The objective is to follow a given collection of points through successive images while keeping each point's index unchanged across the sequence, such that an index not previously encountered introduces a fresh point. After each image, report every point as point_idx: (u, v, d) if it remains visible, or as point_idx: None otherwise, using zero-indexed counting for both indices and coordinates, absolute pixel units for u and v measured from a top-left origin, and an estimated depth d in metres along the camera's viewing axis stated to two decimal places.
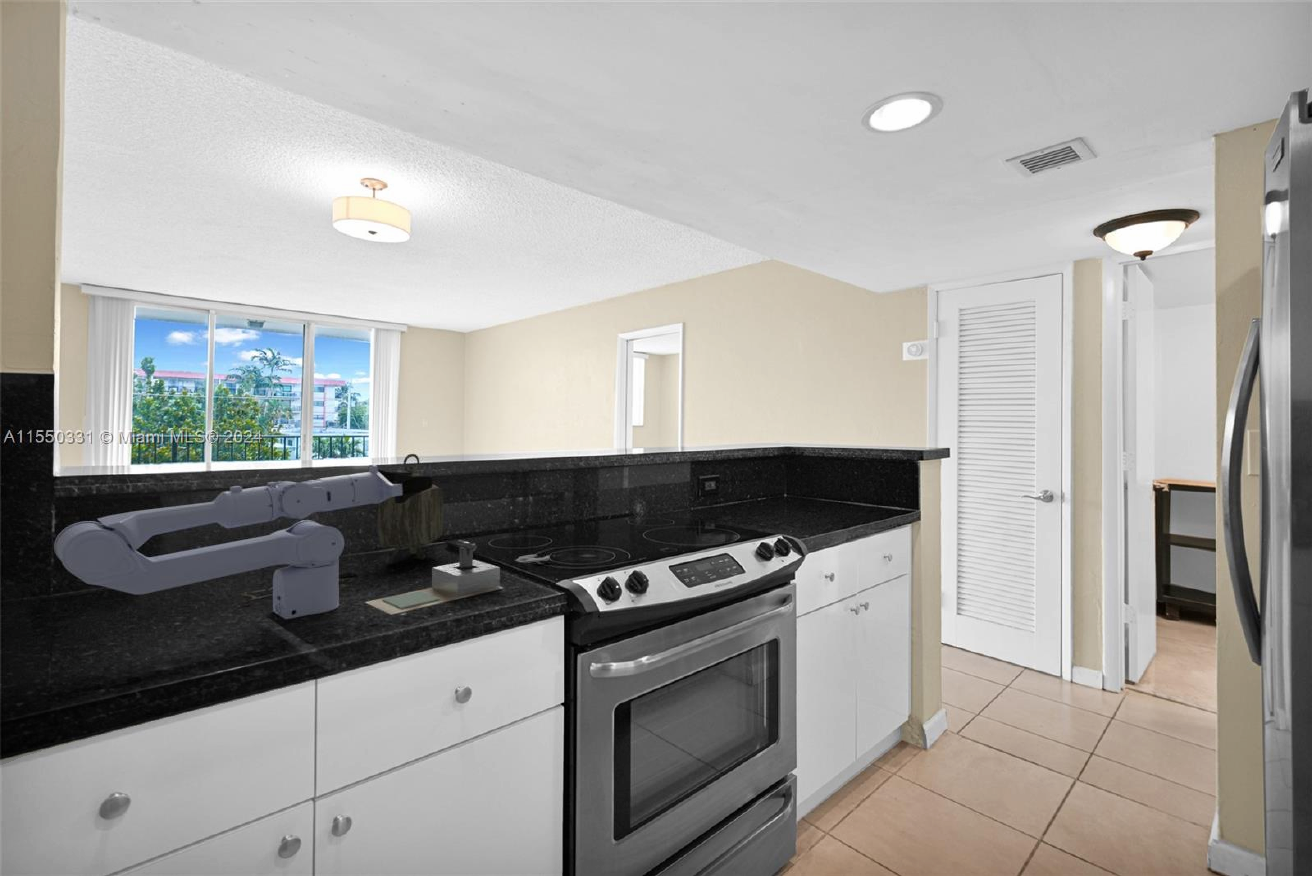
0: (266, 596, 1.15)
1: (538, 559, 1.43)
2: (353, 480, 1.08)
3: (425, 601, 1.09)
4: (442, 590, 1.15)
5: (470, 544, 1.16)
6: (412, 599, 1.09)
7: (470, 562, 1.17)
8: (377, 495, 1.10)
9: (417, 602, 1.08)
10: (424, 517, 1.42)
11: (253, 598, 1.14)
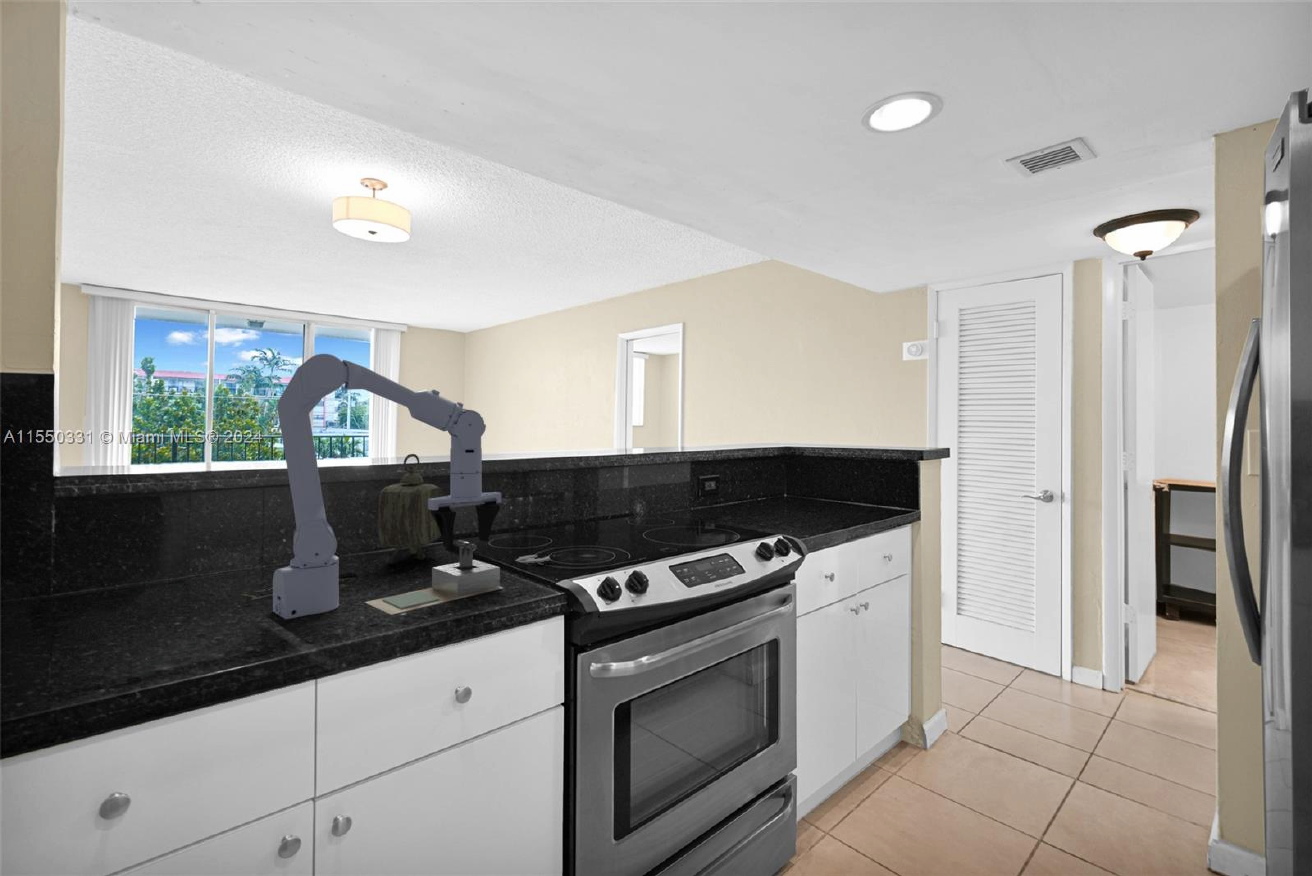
0: (266, 596, 1.15)
1: (537, 560, 1.42)
2: (462, 475, 1.15)
3: (425, 601, 1.09)
4: (442, 590, 1.15)
5: (470, 544, 1.16)
6: (412, 599, 1.09)
7: (470, 562, 1.17)
8: (450, 494, 1.17)
9: (417, 602, 1.08)
10: (424, 517, 1.42)
11: (253, 598, 1.14)
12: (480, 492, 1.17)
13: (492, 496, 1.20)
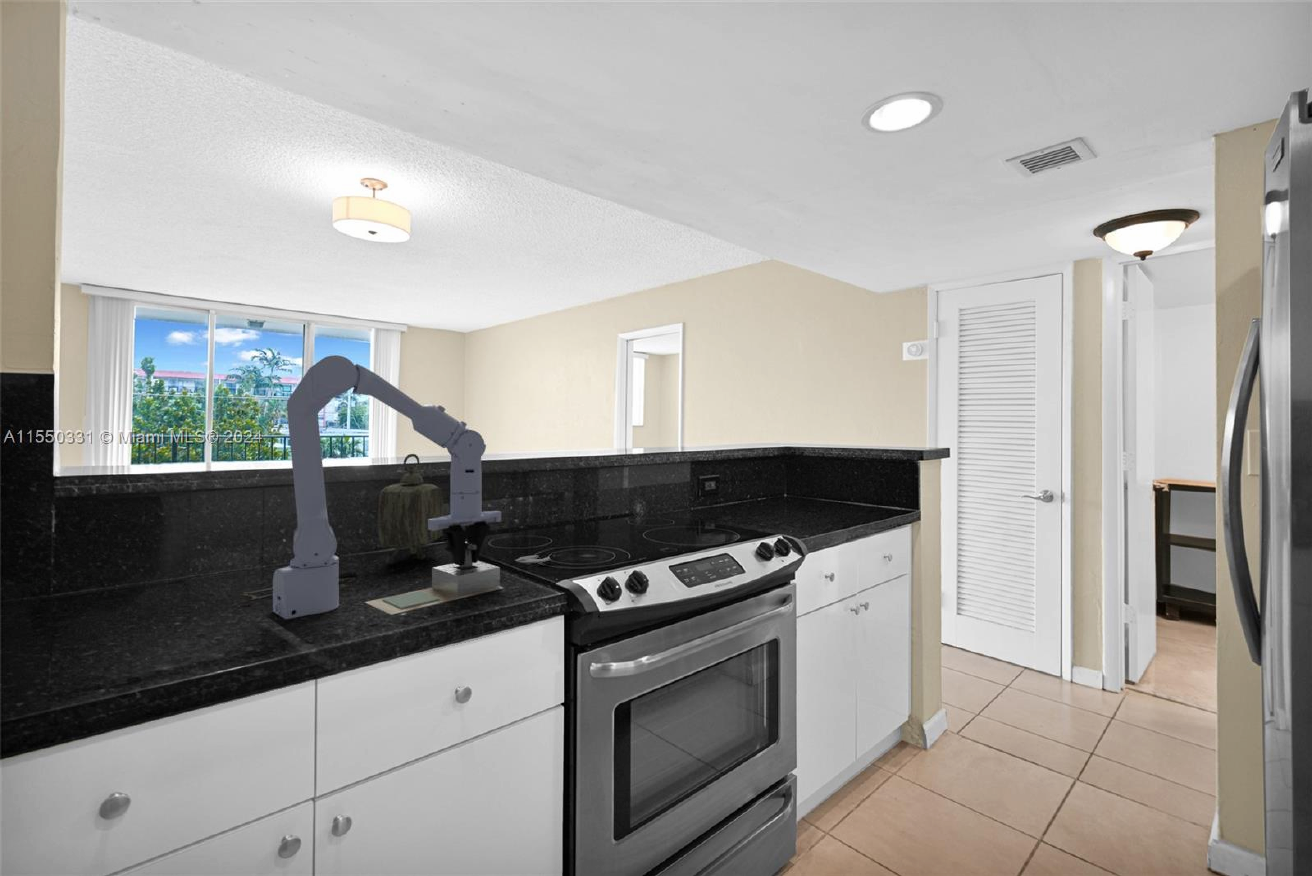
0: (266, 596, 1.15)
1: (536, 560, 1.42)
2: (462, 495, 1.15)
3: (425, 601, 1.09)
4: (442, 590, 1.15)
5: (470, 544, 1.16)
6: (412, 599, 1.09)
7: (470, 562, 1.17)
8: (450, 513, 1.17)
9: (417, 602, 1.08)
10: (424, 517, 1.42)
11: (253, 598, 1.14)
12: (480, 512, 1.18)
13: (492, 515, 1.21)
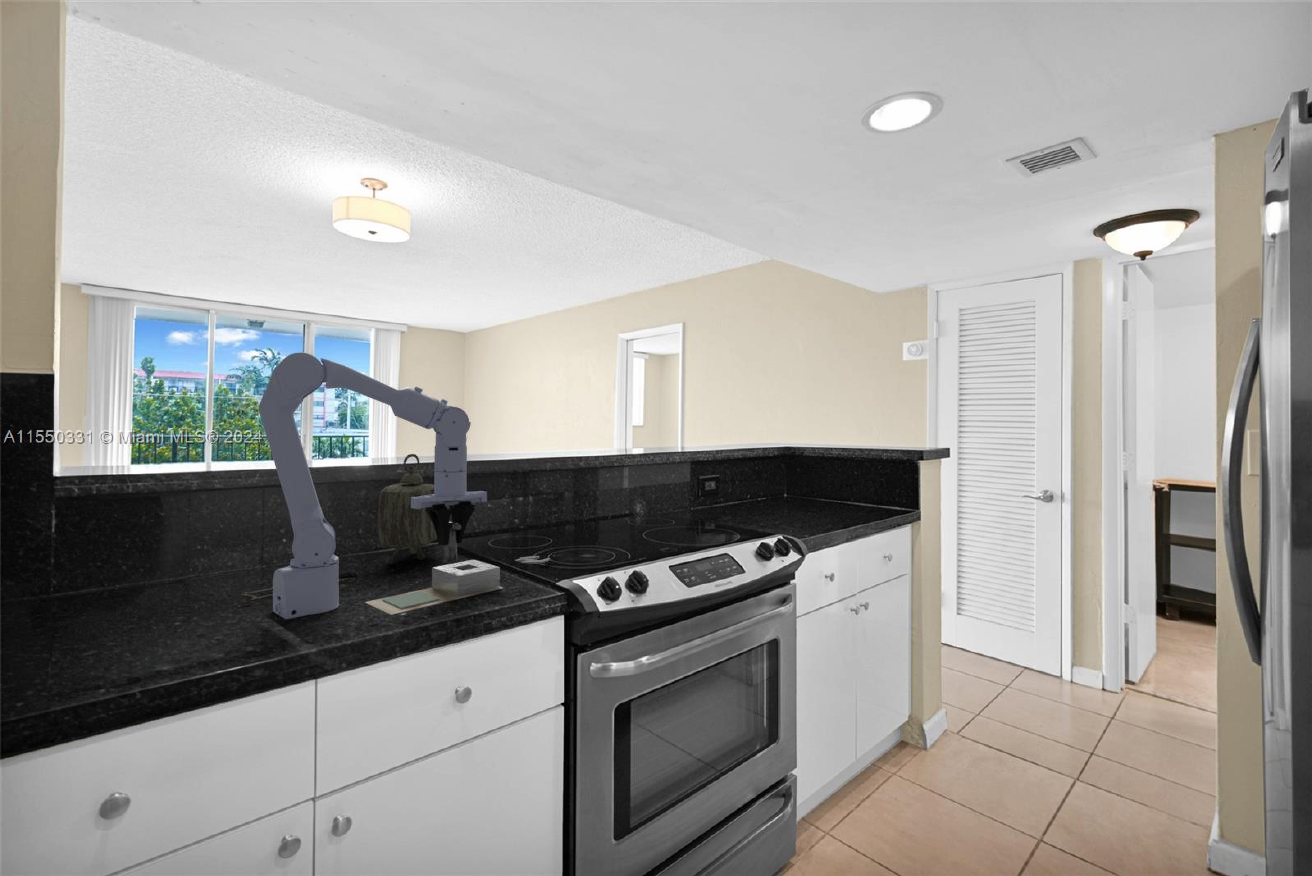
0: (267, 596, 1.15)
1: (535, 561, 1.41)
2: (446, 473, 1.12)
3: (425, 601, 1.09)
4: (442, 590, 1.15)
5: (454, 524, 1.14)
6: (412, 599, 1.09)
7: (454, 543, 1.15)
8: (434, 492, 1.14)
9: (417, 602, 1.08)
10: (424, 517, 1.42)
11: (254, 598, 1.14)
12: (465, 491, 1.15)
13: (477, 495, 1.18)
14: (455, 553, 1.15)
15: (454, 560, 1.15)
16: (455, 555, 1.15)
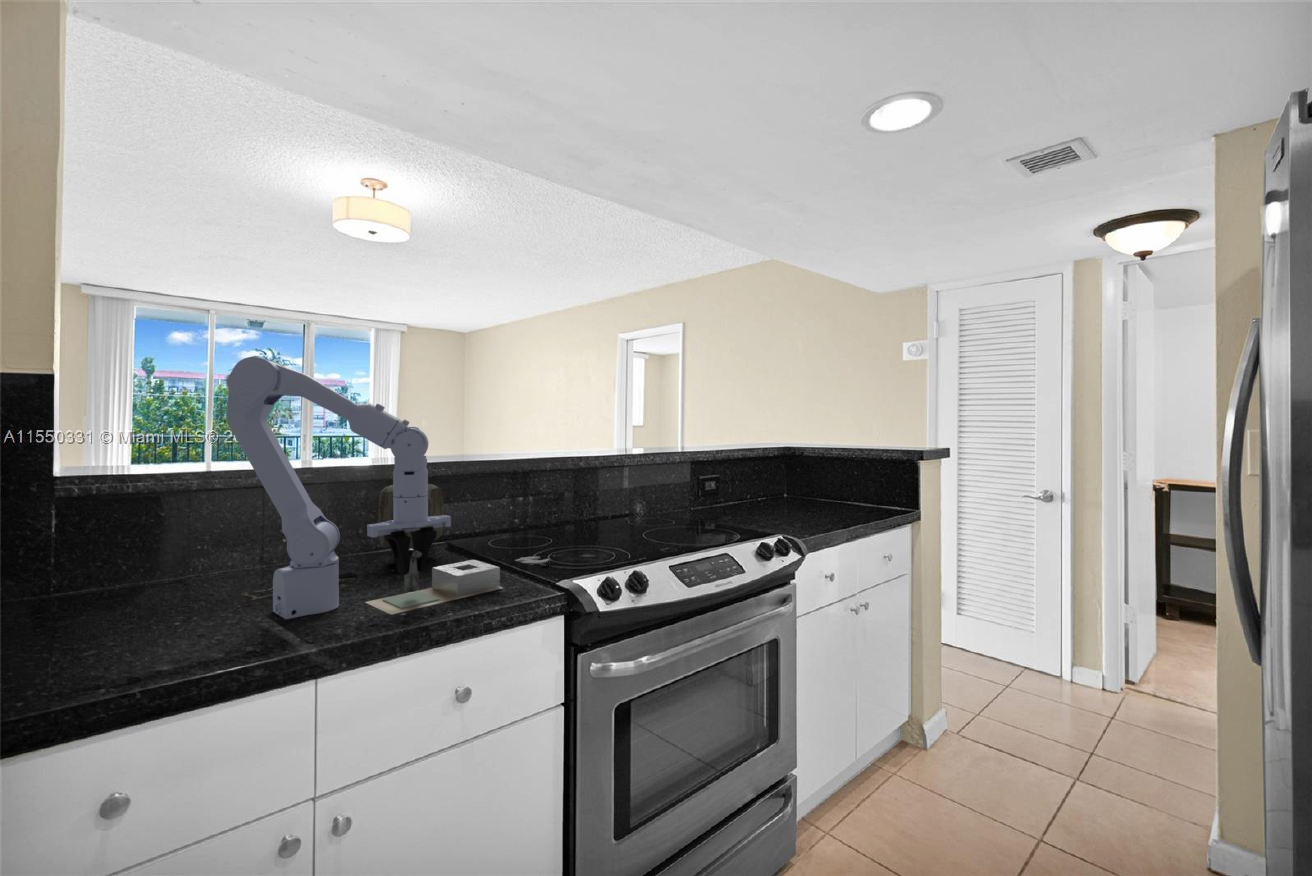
0: (267, 596, 1.15)
1: (534, 562, 1.40)
2: (405, 499, 1.07)
3: (425, 601, 1.09)
4: (442, 590, 1.15)
5: (415, 551, 1.08)
6: (412, 599, 1.09)
7: (415, 571, 1.09)
8: (393, 518, 1.08)
9: (417, 602, 1.08)
10: None
11: (254, 598, 1.14)
12: (426, 517, 1.09)
13: (440, 520, 1.12)
14: (416, 582, 1.10)
15: (415, 589, 1.09)
16: (416, 584, 1.10)
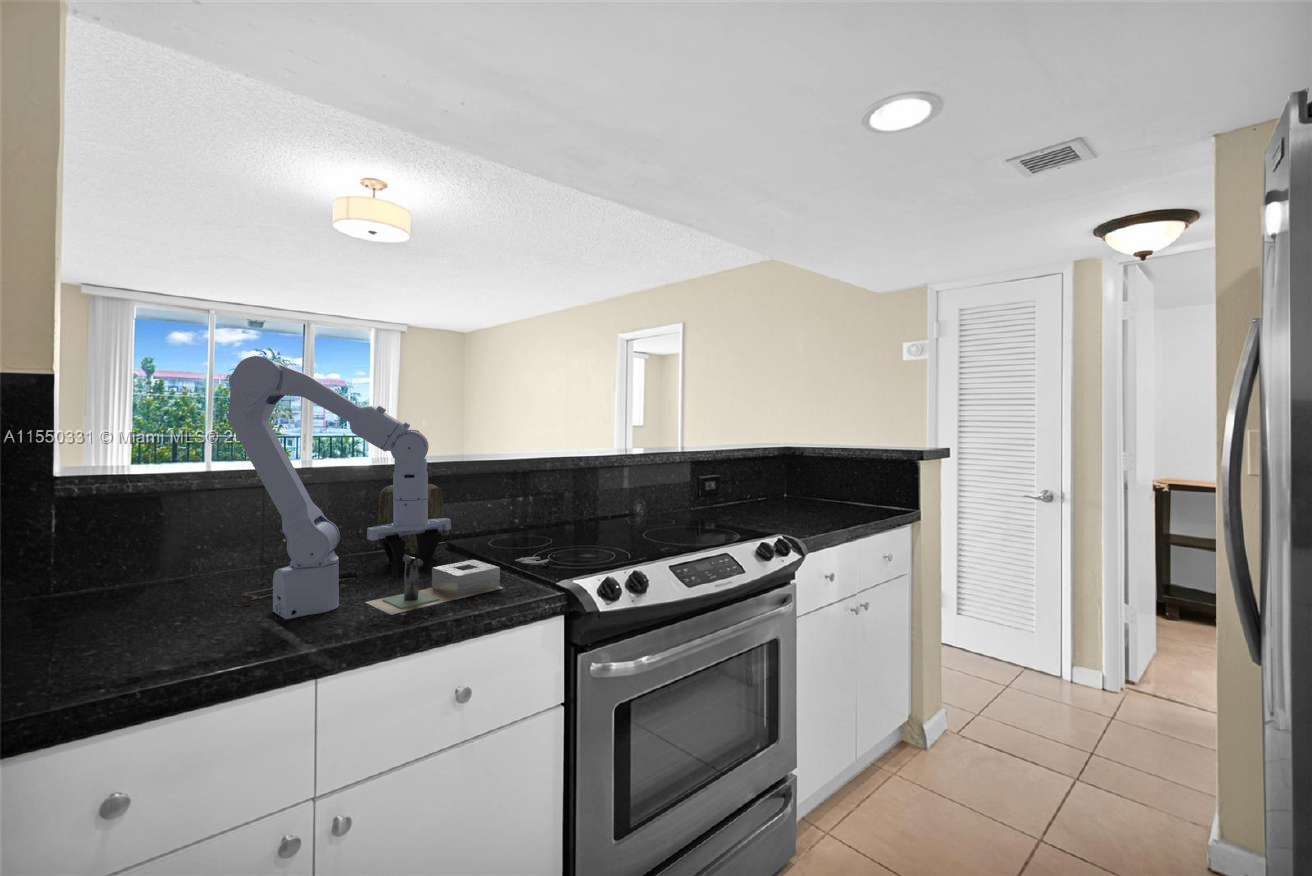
0: (267, 596, 1.15)
1: (533, 562, 1.40)
2: (405, 502, 1.07)
3: (425, 601, 1.09)
4: (442, 590, 1.15)
5: (416, 560, 1.08)
6: None
7: (415, 579, 1.09)
8: (393, 521, 1.08)
9: (417, 602, 1.08)
10: None
11: (254, 598, 1.14)
12: (426, 520, 1.09)
13: (440, 523, 1.12)
14: (416, 590, 1.10)
15: (415, 598, 1.09)
16: (416, 592, 1.10)
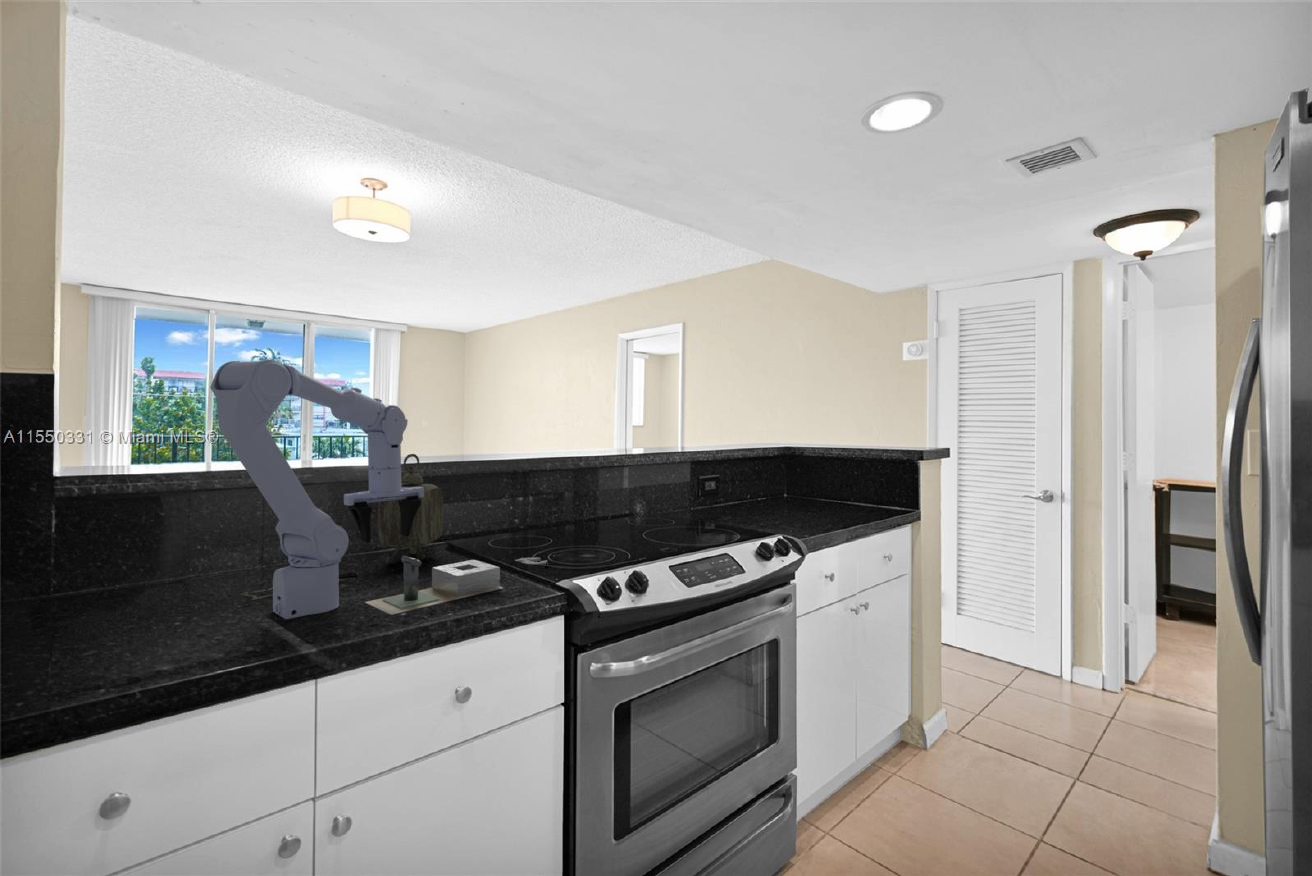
0: (267, 596, 1.15)
1: (530, 563, 1.39)
2: (379, 470, 1.15)
3: (425, 601, 1.09)
4: (442, 590, 1.15)
5: (414, 560, 1.08)
6: None
7: (414, 580, 1.09)
8: None
9: (417, 602, 1.08)
10: (424, 517, 1.42)
11: (254, 598, 1.14)
12: (399, 487, 1.18)
13: (413, 491, 1.21)
14: (416, 591, 1.10)
15: (415, 598, 1.09)
16: (416, 593, 1.10)
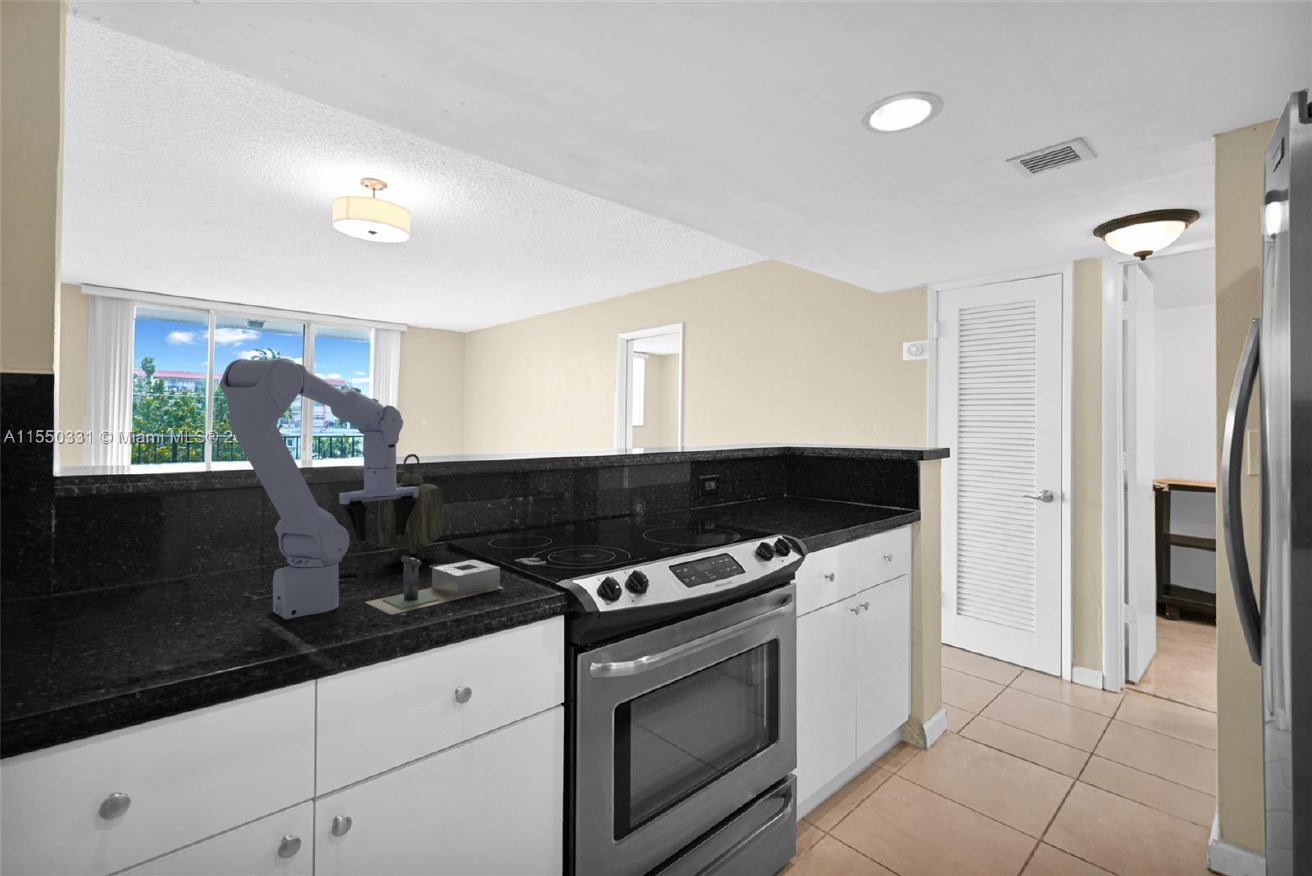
0: (267, 596, 1.15)
1: (528, 563, 1.39)
2: (374, 470, 1.16)
3: (425, 601, 1.09)
4: (442, 590, 1.15)
5: (414, 560, 1.08)
6: None
7: (414, 580, 1.09)
8: (364, 488, 1.18)
9: (417, 602, 1.08)
10: (424, 517, 1.42)
11: (254, 598, 1.14)
12: (394, 487, 1.19)
13: (408, 491, 1.22)
14: (416, 591, 1.10)
15: (415, 598, 1.09)
16: (416, 593, 1.10)
